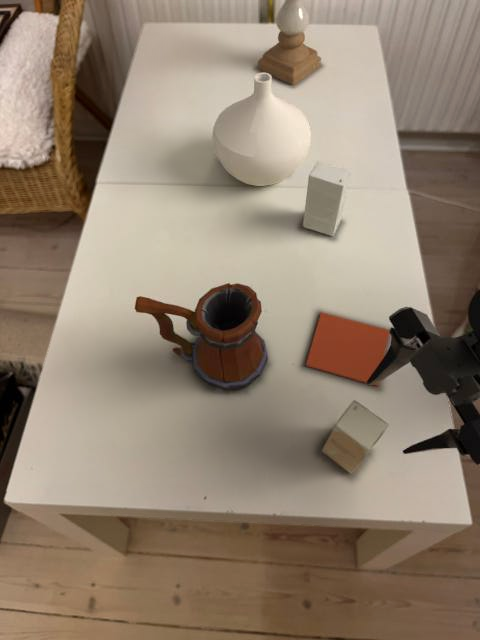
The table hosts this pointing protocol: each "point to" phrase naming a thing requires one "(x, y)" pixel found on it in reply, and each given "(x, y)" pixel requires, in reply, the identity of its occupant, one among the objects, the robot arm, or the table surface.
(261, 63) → the candle holder
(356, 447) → the box
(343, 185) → the cosmetic box
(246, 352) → the mug
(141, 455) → the table surface
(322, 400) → the table surface
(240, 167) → the vase
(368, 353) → the mat
